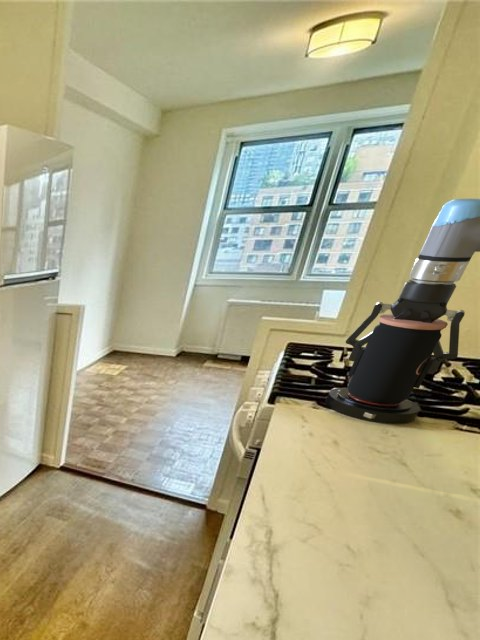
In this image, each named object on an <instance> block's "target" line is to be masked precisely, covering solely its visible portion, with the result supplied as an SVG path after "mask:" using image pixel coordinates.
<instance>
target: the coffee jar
mask: <svg viewBox="0 0 480 640" xmlns="http://www.w3.org/2000/svg"><path fill="white" fill-rule="evenodd" d="M378 322H379V324H376V325H375V326H374V328H373V330H372V332H373V333H372V335H371V337H370V340H369V342H368V343H366V344H365V346H364V347H365V349H364V352H363V354H362V356H361V358H360V360H359V362H358V364H357V367H356V369H355V371H354V373H353V375H352V376H350V379H349V382H348V383H347V388H348V390H349V393H350V394H351V395H353V396H355V397H357V398H360V399H363V400H367V401H371V402H377V403H385V404H396V403H401V402H402V401H404V400H406V399H409V398H410V396H411V394H412V392H413V390H414V389H415V388H414V386H415V384H416V383H417V381H418V379H419V377H420V375H421V373H422V371H423V370H424V368H425V366H426V364H427V362H428V360H429V359H430V357H432V356H433V349H434V347H435V345H436V344H437V342H438V341H441V338H442V333H441V331H442V330H444V329H446V328H447V326H448V325H449V324H448V322H447V321H445V320H442V319H440V318H438V319H436V320H435V321H433V322H432V323H426V322H422V321H413V320H404V319H403V320H399V319H394V316H393V314H392V313H387V314H381V315H379V318H378Z"/></svg>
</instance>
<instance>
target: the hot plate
mask: <svg viewBox="0 0 480 640" xmlns="http://www.w3.org/2000/svg"><path fill="white" fill-rule="evenodd" d="M324 404H325V405H326V407H327V408H329V409H330V410H331V411H332V410H333V412H334V411H335V412H336V413H339V414H342V415H344V416H347V417H349V418H354V419H357V420H362V421H366V422H371V423H378V424H386V425H404V424H405V425H406V424H411V423H413V422H414V421H415V420H416V418H417V416H418V414H419V413H420V411H421V407H420V405H418V404H417V403H416V402H414V401H412V400H410V399H409V398H407V399H406V400H404V401H402V402H401V403H396V404H385V403H377V402H371V401H367V400H363V399H360V398H357V397H355V396H353V395H351V394H350V393H349V390H348V387H337V388H333V389H331V390H329V391H328V393H327V396H326V398H325V401H324Z"/></svg>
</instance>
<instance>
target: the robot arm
mask: <svg viewBox="0 0 480 640" xmlns="http://www.w3.org/2000/svg"><path fill="white" fill-rule="evenodd" d="M476 252H477V253H480V198H454V199H451V200H448V201H447V202H445V204H443V205H442V208H441V209H440V211H439V213H438V215H437V216H436V218H435V220H434V222H433V223H432V225H431V228H430V231H429V232H428V234H427V237H426V239H425V241H424V243H423V245H422V248H421V250H420V252H419V255H418V256H417V258H416V259H415V262H414V263H413V266H412V268H411V270H410V273H409V275H408V278H409V279H410V280H407V281H405V283H404V285H403V287H402V290H401V291H400V294H399V295H398V297H397V300H396V301H395V302H394V303H384V302H382V301H378V302H376V303H375V304H374V306H373V309H372V310H371V313H370V314H369V315H367V317H366V318H365V319H364V320H363V321H362V323H361V324H360V325H359V326H358V327H357V328H356V329H355V330H354V331H353V332H352V333H351V334H350V335H349V336H348V337H347V338H346V340H345V344H347V345H350V346H352V350H351V353H350V354H349V357H348V361H349V362H353V363H352V365H351V367H350V369H349V372H348V374H347V377H352V375H353V373H354V371H355V369H356V367H357V364H358V362H359V360H360V358H361V356H362V354H363V352H364V349H365V347H366V345H367V343H368V342H369V340H370V337H371V335H372V333H373V331H371V332H370V333H368V334H366V335H365V336H363V337H362V338H360V339H359V340H358V339H357V338H358V337H360V335H361V334H362V333H364V331H365V330H366V329H367V328H368V327H369V326H370V325H371V324H372V323H373V322H374V321H375V320H376V318H377V317H378V316H379V315H380V314H381V315H383V314H384V313H385V312H386V311H388V310H390V312H391V314H393V316H394V319H399V320H403V319H404V320H413V321H422V322H426V323H432V322H433V321H435V320H436V319H441V318H442V317H443V316H446V317H447V321H448V322H450V327H449V342H448V343H449V345H448V346H449V347H448V351H446V352H444V350H443V347H442V344H441V340H439V341H438V342H437V344H436V345H435V347H434V349H433V353H432V355H433V356H431V357H430V359H429V360H428V362H427V364H426V366H425V368H424V370H423V371H422V373H421V375H420V377H419V379H418V381H417V383H416V384H415V386H414V389H420V387H421V385H422V383H423V381H424V379H425V377H426V376H427V375H428V374H429V375H434V374H435V373H436V372H437V370H438V369H439V367H440V365H441V363H442V362H443V361H445V360H455V359H457V358H458V356H459V341H460V326H461V322H462V320H463V318H464V317H465V314H466V311H465V310H463V309H458V310H456V309H455V310H454V309H448V308H447V306H448V303H449V302H450V300H451V298H452V295H453V294H454V292H455V290H456V289H457V285H456V283H457V282H459V281H460V280H461V279H462V277H463V275H464V273H465V271H466V270H467V267H468V265H469V263H470V262H471V259H472V258H473V255H475V253H476Z"/></svg>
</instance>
